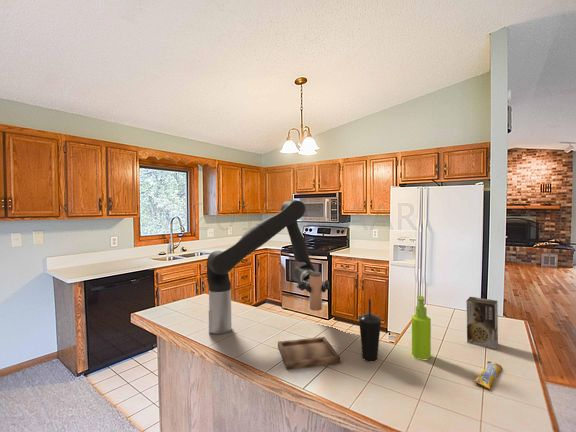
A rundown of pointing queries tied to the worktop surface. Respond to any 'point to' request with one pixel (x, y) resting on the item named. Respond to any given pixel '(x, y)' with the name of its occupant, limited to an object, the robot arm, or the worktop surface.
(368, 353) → the drinking cup
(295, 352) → the tray
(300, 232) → the robot arm
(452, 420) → the worktop surface
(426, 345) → the soap dispenser
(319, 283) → the tan cylinder
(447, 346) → the worktop surface
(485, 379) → the candy bar
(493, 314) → the coffee box
